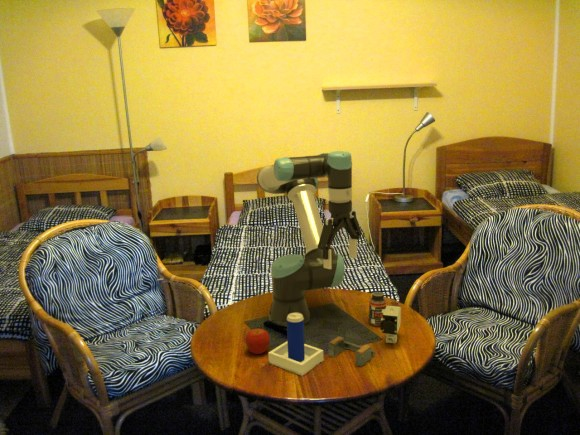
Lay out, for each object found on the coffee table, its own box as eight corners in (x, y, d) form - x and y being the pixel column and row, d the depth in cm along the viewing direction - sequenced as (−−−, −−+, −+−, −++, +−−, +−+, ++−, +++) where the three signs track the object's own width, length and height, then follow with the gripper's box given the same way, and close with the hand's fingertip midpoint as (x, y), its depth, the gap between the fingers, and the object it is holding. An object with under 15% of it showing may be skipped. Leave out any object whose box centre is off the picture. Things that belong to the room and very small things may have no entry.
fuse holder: (328, 355, 173) (328, 342, 172) (342, 345, 179) (342, 332, 178) (361, 367, 166) (361, 353, 165) (374, 356, 172) (374, 343, 171)
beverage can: (307, 357, 171) (306, 313, 168) (300, 365, 167) (299, 320, 163) (292, 354, 174) (291, 311, 170) (285, 362, 169) (283, 317, 165)
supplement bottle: (374, 328, 191) (375, 298, 188) (365, 321, 196) (365, 292, 193) (389, 324, 193) (389, 295, 190) (379, 318, 198) (380, 289, 196)
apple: (275, 351, 177) (274, 329, 175) (256, 360, 172) (255, 337, 170) (260, 343, 183) (259, 322, 181) (241, 351, 178) (240, 329, 176)
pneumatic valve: (401, 334, 186) (401, 301, 183) (395, 350, 176) (396, 315, 173) (384, 332, 188) (385, 299, 185) (378, 347, 177) (379, 313, 174)
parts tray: (268, 363, 170) (268, 352, 169) (290, 349, 178) (290, 338, 178) (302, 376, 162) (301, 365, 161) (323, 360, 171) (323, 350, 170)
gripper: (324, 209, 165) (325, 275, 170) (372, 194, 182) (371, 255, 187) (305, 205, 170) (307, 270, 175) (353, 192, 187) (354, 251, 192)
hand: (340, 262), depth 181 cm, fingers open, 13 cm apart
